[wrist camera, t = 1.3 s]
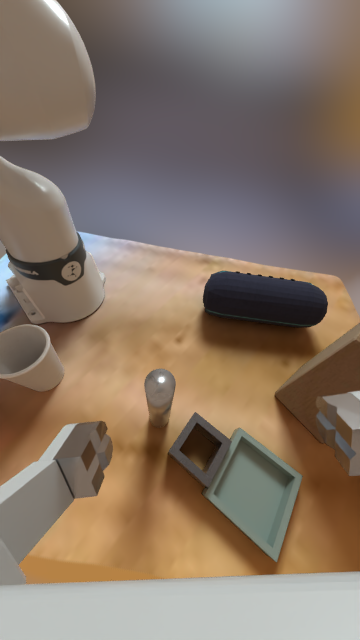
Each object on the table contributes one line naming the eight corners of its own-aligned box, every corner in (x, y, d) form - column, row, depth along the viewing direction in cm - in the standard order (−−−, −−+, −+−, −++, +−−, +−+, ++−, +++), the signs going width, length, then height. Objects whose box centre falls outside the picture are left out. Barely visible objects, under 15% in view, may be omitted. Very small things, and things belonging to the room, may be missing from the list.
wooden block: (321, 445, 34) (467, 420, 18) (272, 394, 38) (354, 338, 22) (349, 406, 38) (488, 358, 22) (302, 365, 42) (390, 299, 26)
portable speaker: (299, 304, 53) (325, 274, 45) (310, 338, 47) (341, 310, 39) (200, 291, 53) (208, 258, 44) (198, 323, 47) (207, 292, 39)
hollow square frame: (167, 453, 32) (168, 451, 28) (191, 417, 35) (195, 411, 32) (202, 486, 30) (208, 487, 26) (224, 444, 33) (232, 441, 30)
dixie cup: (9, 396, 34) (-36, 373, 26) (35, 351, 39) (3, 320, 31) (60, 402, 35) (31, 381, 27) (79, 356, 40) (59, 327, 32)
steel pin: (145, 418, 34) (137, 385, 21) (158, 402, 36) (158, 363, 23) (160, 432, 33) (162, 406, 20) (173, 415, 35) (181, 381, 22)
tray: (201, 493, 29) (204, 495, 27) (234, 430, 34) (239, 427, 32) (267, 555, 26) (276, 562, 24) (293, 475, 31) (302, 475, 29)
